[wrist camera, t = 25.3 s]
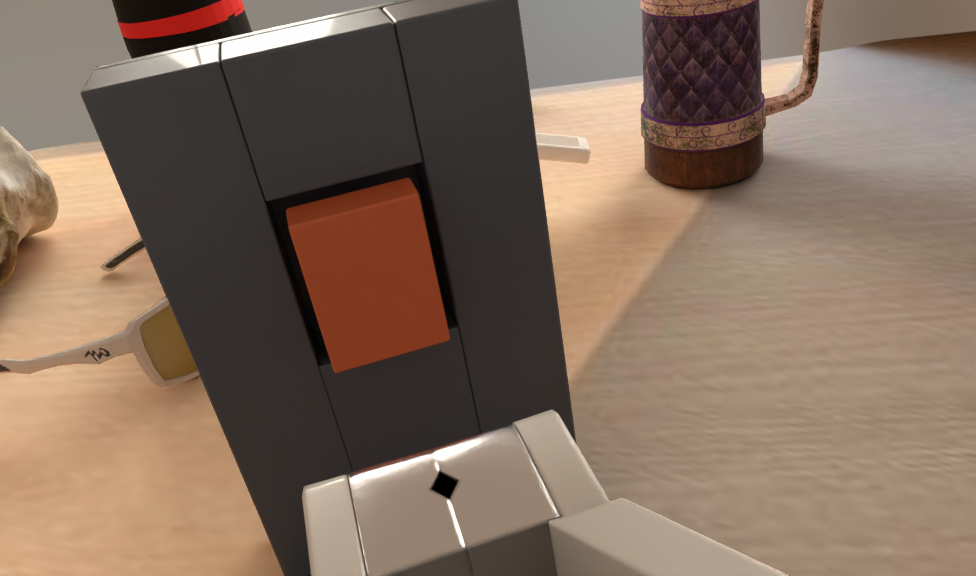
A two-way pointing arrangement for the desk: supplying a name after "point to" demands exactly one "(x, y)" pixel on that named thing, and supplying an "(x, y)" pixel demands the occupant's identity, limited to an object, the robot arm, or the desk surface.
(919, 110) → the desk surface
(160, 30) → the toy rocket
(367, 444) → the panel
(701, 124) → the mug
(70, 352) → the sunglasses
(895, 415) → the desk surface
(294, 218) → the switch
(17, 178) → the ceramic sculpture
